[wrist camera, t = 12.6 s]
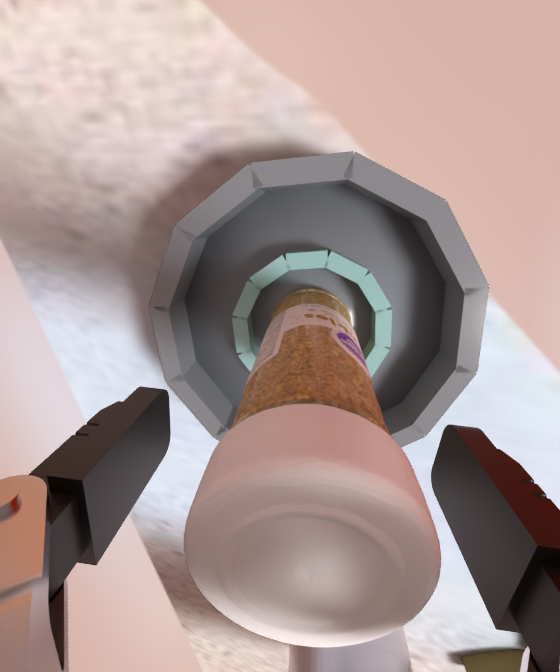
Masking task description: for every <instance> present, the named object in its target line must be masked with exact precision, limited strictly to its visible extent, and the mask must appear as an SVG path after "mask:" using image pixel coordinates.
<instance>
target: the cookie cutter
mask: <svg viewBox="0 0 560 672" xmlns="http://www.w3.org/2000/svg"><path fill="white" fill-rule="evenodd" d="M524 651H525V650H505V651H493V652H485V653H477V654H471V655H465V656H461V657H462V660H463V663H464V666H465V669H466V672H520V669H521V662H522V657H523V653H524Z"/></svg>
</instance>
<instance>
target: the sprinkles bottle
mask: <svg viewBox="0 0 560 672" xmlns="http://www.w3.org/2000/svg"><path fill="white" fill-rule="evenodd" d="M184 553H185V558H186V563H187V566H188V569H189V571H190V574H191V576H192V578H193V579H194V581H195V583H196V585H197V587H198V589H199V590H200V591H201V592H202V594H203V595H204V596H205V598H206V599H207V600H208V601H209V602H210V603H211V604H212V605H213V606H214V607H215V608H216V609H217V610H219V611H220V612H221V613H222V614H224V615H225V616H226V617H228V618H229V619H230V620H232V621H233V622H235V623H237V624H238V625H240V626H242V627H244V628H245V629H247V630H250V631H252V632H254V633H256V634H259V635H261V636H264V637H267V638H270V639H273V640H277V641H280V642H283V643H288V644H293V645H300V646H308V647H327V648H329V647H340V646H348V645H355V644H360V643H364V642H368V641H372V640H374V639H377V638H380V637H383V636H385V635H388V634H390V633H391V632H393V631H395V630H397V629H398V628H400V627H402V626H403V625H405V624H406V623H408V622H409V621H411V620H412V619H413V618H414V617H415V616H416V615H417V614H418V613H419V612H420V611H421V610H422V609H423V607H424V606H425V605H426V603H427V602H428V601H429V599H430V598H431V596H432V594H433V592H434V590H435V588H436V586H437V583H438V580H439V576H440V568H441V552H440V543H439V539H438V535H437V532H436V529H435V525H434V523H433V520H432V517H431V514H430V511H429V509H428V506H427V503H426V500H425V497H424V495H423V492H422V490H421V487H420V485H419V483H418V480H417V478H416V475H415V473H414V470H413V468H412V466H411V464H410V462H409V460H408V458H407V456H406V454H405V453H404V451H403V450H402V449H401V447H400V446H399V445H398V444H397V443H396V441H395V440H394V439H393V438H392V436H391V435H390V434H389V433H388V429H387V427H386V425H385V422H384V420H383V416H382V412H381V409H380V406H379V404H378V401H377V399H376V396H375V393H374V390H373V388H372V379H371V376H370V373H369V371H368V368H367V365H366V362H365V359H364V357H363V354H362V351H361V348H360V345H359V342H358V339H357V336H356V333H355V331H354V329H353V328H352V321H351V316H350V314H349V312H348V309H347V307H346V305H345V304H344V303H343V302H342V301H341V300H340V299H339V298H338V297H337V296H335V295H334V294H332V293H330V292H328V291H326V290H322V289H317V288H305V289H299V290H297V291H295V292H292V293H290V294H288V295H287V296H285V297H284V298H283V299H282V300H280V301H279V302H278V304H277V306H276V308H275V309H274V311H273V313H272V315H271V319H270V326H269V327H268V329H267V331H266V333H265V336H264V339H263V341H262V344H261V346H260V349H259V352H258V354H257V357H256V360H255V362H254V365H253V368H252V370H251V373H250V375H249V378H248V380H247V383H246V385H245V388H244V391H243V395H242V401H241V403H240V405H239V407H238V410H237V413H236V416H235V419H234V421H233V424H232V427H231V428H230V430H229V431H228V432H227V433H226V434H225V436H224V437H223V438H222V439H221V440H220V442H219V443H218V445H217V446H216V448H215V450H214V451H213V453H212V456H211V458H210V460H209V463H208V465H207V467H206V470H205V472H204V475H203V477H202V479H201V482H200V484H199V487H198V490H197V492H196V495H195V498H194V500H193V503H192V506H191V508H190V511H189V514H188V517H187V521H186V526H185V532H184Z"/></svg>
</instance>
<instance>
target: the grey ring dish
mask: <svg viewBox="0 0 560 672" xmlns="http://www.w3.org/2000/svg"><path fill="white" fill-rule="evenodd" d="M305 288H317V289H322V290H326V291H328V292H330V293H332V294H334V295H335V296H337V297H338V298H339V299H340V300H341V301H342V302H343V303H344V304H345V305H346V307H347V309H348V312H349V314H350V316H351V321H352V328H353V329H354V331H355V333H356V336H357V339H358V342H359V345H360V348H361V351H362V354H363V357H364V359H365V362H366V365H367V368H368V371H369V373H370V376H371V379H372V388H373V390H374V393H375V396H376V399H377V401H378V404H379V406H380V409H381V412H382V416H383V420H384V422H385V425H386V427H387V429H388V433H389V434H390V435H391V436H392V438H393V439H394V440H395V441H396V443H397V444H398V445H399V446H400V447H403V446H406V445H408V444H410V443H412V442H414V441H417V440H419V439H421V438H423V437H425V436H424V435H426V436H427V434H428V433H429V432H430V431H431V429H432V428H433V427H434V426H435V424H436V423H437V422H438V421H439V419H440V418H441V417H442V416H443V414H444V413H445V412H446V411H447V410H448V408H449V407H450V406H451V405H452V403H453V402H454V401H455V400H456V398H457V397H458V396H459V395H460V393H461V392H462V391H463V390H464V388H465V387H466V386H467V385H468V384H469V382H470V381H471V380H472V379H473V377H474V376H475V375H476V373H475V372H477V370H478V363H479V356H480V349H481V342H482V334H483V327H484V320H485V313H486V306H487V299H488V292H489V287H488V283H487V281H486V278H485V276H484V274H483V272H482V271H481V268H480V266H479V265H478V263H477V260H476V258H475V256H474V255H473V252H472V250H471V248H470V246H469V244H468V242H467V241H466V238H465V236H464V235H463V233H462V231H461V228H460V227H459V225H458V223H457V221H456V219H455V217H454V215H453V213H452V211H451V209H450V207H449V205H448V203H447V201H445V199H443V198H441V197H440V196H438V195H436V194H434V193H432V192H430V191H428V190H426V189H424V188H423V187H420V186H419V185H417V184H415V183H413V182H411V181H409V180H407V179H406V178H404V177H402V176H400V175H398V174H396V173H394V172H392V171H391V170H389V169H387V168H385V167H383V166H381V165H379V164H377V163H376V162H374V161H372V160H370V159H368V158H366V157H364V156H362V155H360V154H359V153H357V152H355V153H354V154H353V151H351V152H342V153H333V154H324V155H315V156H306V157H297V158H288V159H278V160H269V161H260V162H251V165H250V164H247V165H246V166H245V167H244V168H243V169H241V170H240V171H239V172H238V173H237V174H235V175H234V176H233V177H232V178H230V179H229V180H228V181H227V182H226V183H224V184H223V185H222V186H221V187H220V188H218V189H217V190H216V191H215V192H213V193H212V194H211V195H210V196H209V197H207V198H206V199H205V200H204V201H203V202H201V203H200V204H199V205H198V206H196V207H195V208H194V209H193V210H192V211H190V212H189V213H188V214H187V215H186V216H184V217H183V218H182V219H181V220H179V221H178V222H177V223H176V225H174V228H173V231H172V235H171V238H170V241H169V244H168V247H167V250H166V253H165V256H164V259H163V262H162V265H161V269H160V272H159V275H158V278H157V281H156V284H155V287H154V290H153V293H152V296H151V299H150V302H149V306H150V307H149V312H150V316H151V320H152V325H153V329H154V333H155V338H156V342H157V347H158V351H159V355H160V360H161V364H162V368H163V373H164V377H165V382H167V384H168V386H169V387H170V388H171V389H172V390H173V391H174V393H175V394H176V395H177V396H178V397H179V398H180V399H181V401H182V402H183V403H184V404H185V405H186V406H187V408H188V409H189V410H190V411H191V412H192V413H193V415H194V416H195V417H196V418H197V419H198V420H199V421H200V423H201V424H202V425H203V426H204V427H205V428H206V430H207V431H208V432H209V433H210V434H211V435H212V437H213V438H214V437H215V439H217V440H219V441H220V440H221V439H222V438H223V437H224V436H225V434H226V433H227V432H228V431H229V430H230V428H231V427H232V424H233V421H234V419H235V416H236V413H237V410H238V407H239V405H240V403H241V401H242V395H243V391H244V388H245V385H246V383H247V380H248V378H249V375H250V373H251V370H252V368H253V365H254V362H255V360H256V357H257V354H258V352H259V349H260V346H261V344H262V341H263V339H264V336H265V333H266V331H267V329H268V327H269V326H270V319H271V315H272V313H273V311H274V309H275V308H276V306H277V304H278V302H279V301H280V300H282V299H283V298H284V297H285V296H287V295H288V294H290V293H292V292H295V291H297V290H299V289H305Z"/></svg>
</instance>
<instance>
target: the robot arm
mask: <svg viewBox="0 0 560 672" xmlns="http://www.w3.org/2000/svg"><path fill="white" fill-rule="evenodd" d="M169 442H170V411H169V395H168V392H167V390H164V389H156V388H148V387H139V388H137V389H136V390H135V391H134V392H133V393H132V394H131V395H130V396H129V397H128V398H127V399H126V400H125V401H124V402H119V401H118V402H116V403H114V404H112V405H110V406H108V407H106V408H104V409H102V410H100V411H99V412H98V413H97V414H96V415H95V416H94V417H92V418H91V419H90V420H89V421H88V422H87V424H86V425H84V426H82V427H81V428H80V429H79V430H78V431H77V432H76V434H75V435H72V436H71V437H70V438H69V439H68V440H67V441H66V442H64V443H63V444H62V445H61V446H60V447H59V448H58V449H57V450H55V451H54V452H53V453H52V454H51V455H50V456H49V457H48V458H47V459H45V460H44V461H43V462H42V463H41V464H40V465H39V466H38V467H36V468H35V469H34V470H33V471H32V472H31V473H30V474H29V475H19V476H12V477H8V478H4V479H1V480H0V672H69V671H68V670H69V668H68V588H67V580H66V577H67V576H68V575H69V573H70V571H71V570H72V569H73V567H74V566H75V564H76V563H77V562H78V563H84V564H91V565H97V563H98V562H99V560H100V559H101V557H102V555H103V554H104V552H105V551H106V549H107V548H108V546H109V544H110V543H111V541H112V539H113V538H114V536H115V535H116V533H117V531H118V530H119V528H120V527H121V525H122V523H123V522H124V520H125V519H126V517H127V515H128V514H129V512H130V511H131V509H132V507H133V506H134V504H135V503H136V501H137V499H138V498H139V496H140V495H141V493H142V491H143V490H144V488H145V487H146V485H147V483H148V482H149V480H150V479H151V477H152V475H153V474H154V472H155V471H156V469H157V467H158V466H159V464H160V463H161V461H162V459H163V458H164V456H165V454H166V452H167V450H168V446H169ZM431 482H432V488H433V491H434V494H435V496H436V498H437V500H438V503H439V505H440V507H441V509H442V511H443V514H444V516H445V518H446V520H447V522H448V525H449V527H450V529H451V531H452V533H453V535H454V538H455V540H456V542H457V544H458V546H459V549H460V551H461V553H462V555H463V557H464V560H465V562H466V564H467V566H468V568H469V571H470V573H471V575H472V577H473V579H474V582H475V584H476V586H477V588H478V590H479V593H480V595H481V597H482V599H483V601H484V604H485V606H486V608H487V610H488V612H489V615H490V617H491V619H492V621H493V623H494V626H495V628H496V629H498V630H505V631H511V632H518V633H521V634H522V635H523V637H524V639H525V641H526V643H527V645H528V646H527V648H526V650H525V651H524V653H523V657H522V662H521V669H520V672H560V510H559V509H558V508H557V507H556V505H555V504H554V503H553V502H552V501H551V500H550V499H548V498H547V497H546V494H545V493H544V491H543V490H542V489H541V488H540V487H539V486H538V485H537V484H534V480H533V479H532V478H531V476H530V475H529V474H528V473H527V472H526V471H525V470H524V468H523V467H522V466H521V465H520V464H519V463H518V462H516V461H515V460H514V459H512V458H511V457H510V456H508V455H507V454H506V453H504V452H503V451H501V450H500V449H496V447H495V446H494V445H493V444H492V442H491V441H490V440H489V439H488V438H487V436H486V435H485V434H484V433H483V431H482V430H480V429H479V428H474V427H466V426H457V425H447V426H446V427H445V429H444V431H443V434H442V438H441V441H440V444H439V447H438V451H437V454H436V457H435V461H434V464H433V467H432V472H431ZM288 672H413V670H412V665H411V661H410V656H409V652H408V647H407V643H406V638H405V634H404V629H403V626H402V627H400V628H398V629H397V630H395V631H393V632H391V633H390V634H388V635H385V636H383V637H380V638H377V639H374V640H372V641H368V642H364V643H360V644H355V645H348V646H340V647H329V648H327V647H308V646H300V645H293V644H290V654H289V671H288Z"/></svg>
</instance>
